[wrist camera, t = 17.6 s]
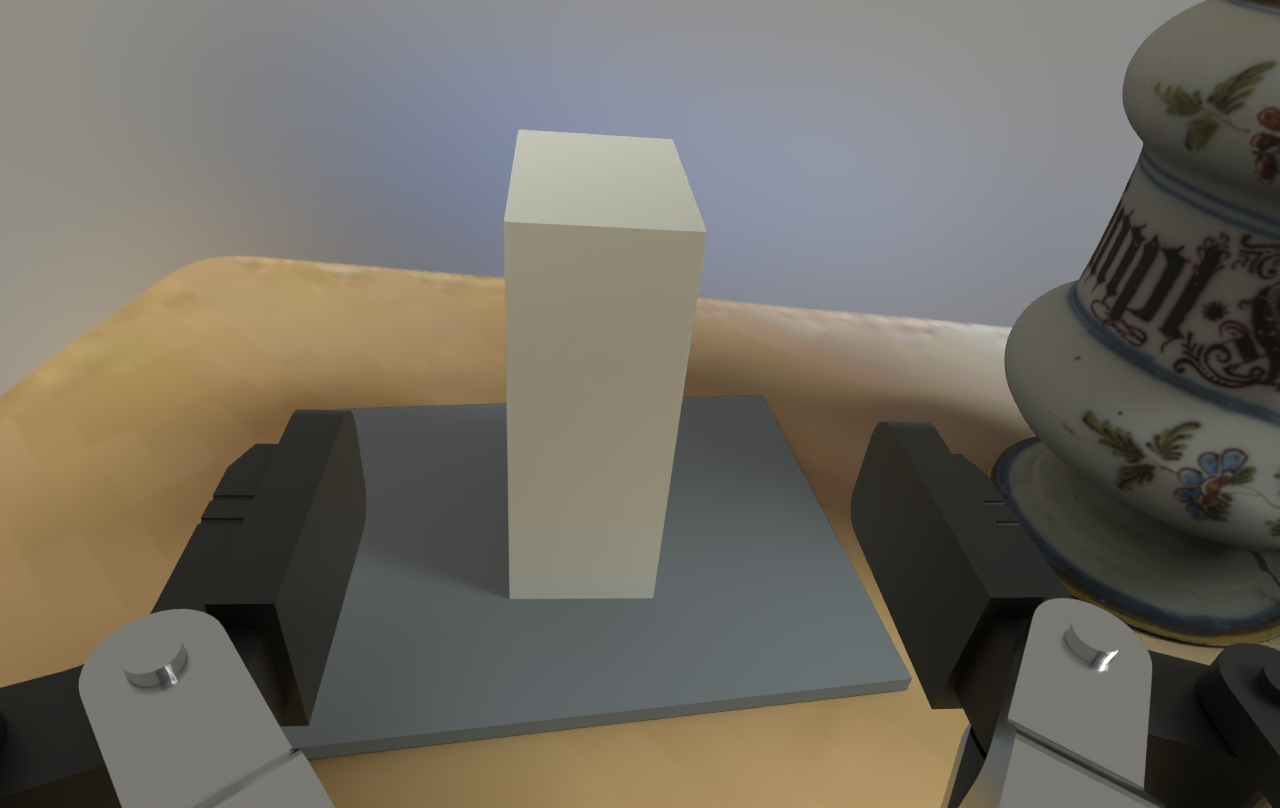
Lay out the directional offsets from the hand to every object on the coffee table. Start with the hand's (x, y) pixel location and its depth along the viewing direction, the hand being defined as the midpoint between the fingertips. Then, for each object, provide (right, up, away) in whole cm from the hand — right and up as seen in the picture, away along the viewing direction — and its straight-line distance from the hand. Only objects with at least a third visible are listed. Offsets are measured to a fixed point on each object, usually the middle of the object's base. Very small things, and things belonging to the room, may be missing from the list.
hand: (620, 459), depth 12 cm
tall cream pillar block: (-2, -3, +12) cm, 12 cm away
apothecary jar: (+17, -4, +15) cm, 23 cm away
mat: (-2, -3, +12) cm, 13 cm away
